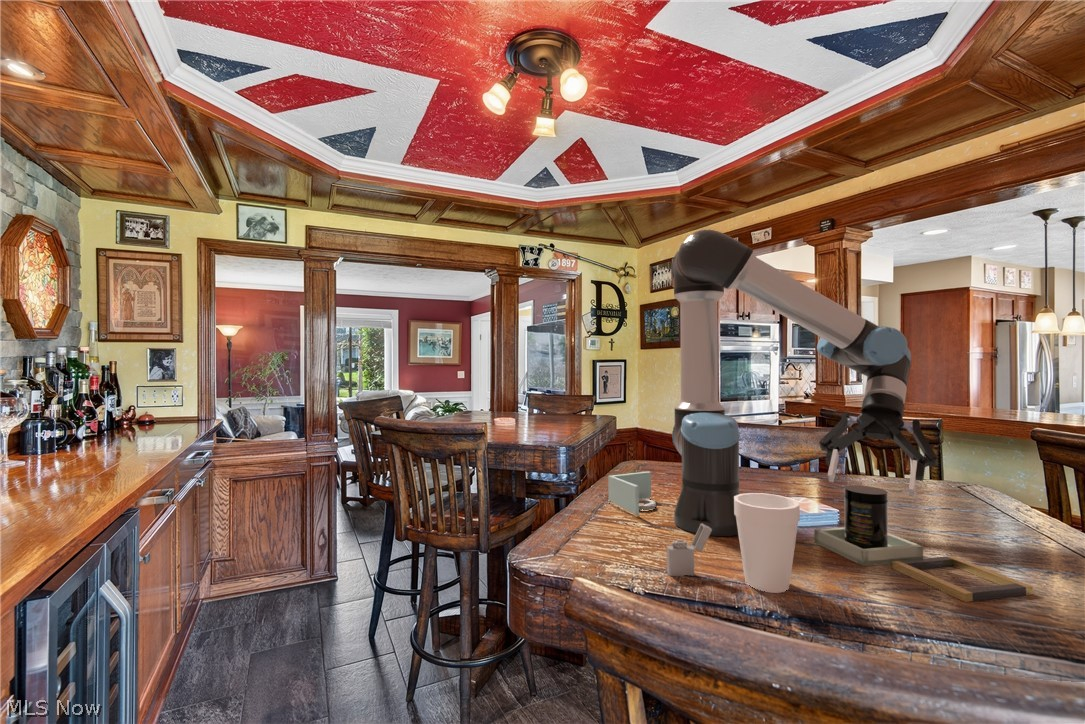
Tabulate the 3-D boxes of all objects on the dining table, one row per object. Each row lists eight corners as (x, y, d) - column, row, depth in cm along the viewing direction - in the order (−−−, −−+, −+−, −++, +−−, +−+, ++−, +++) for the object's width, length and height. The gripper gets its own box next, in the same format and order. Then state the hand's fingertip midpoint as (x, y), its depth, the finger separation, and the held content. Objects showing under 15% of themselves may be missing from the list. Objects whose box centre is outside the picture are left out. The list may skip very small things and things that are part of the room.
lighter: (669, 575, 81) (669, 526, 81) (666, 571, 82) (666, 523, 83) (712, 575, 81) (712, 526, 81) (708, 570, 83) (708, 522, 83)
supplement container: (891, 556, 86) (891, 496, 86) (846, 549, 89) (845, 491, 89) (884, 543, 92) (884, 487, 92) (842, 538, 95) (842, 483, 95)
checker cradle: (965, 602, 71) (965, 593, 71) (892, 568, 83) (892, 561, 83) (1032, 594, 73) (1032, 586, 73) (952, 562, 85) (952, 555, 85)
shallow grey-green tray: (863, 566, 84) (862, 551, 84) (814, 542, 95) (814, 529, 95) (923, 560, 86) (922, 546, 86) (868, 538, 97) (868, 525, 97)
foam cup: (724, 572, 82) (723, 493, 82) (777, 569, 83) (777, 492, 83) (753, 599, 72) (752, 510, 73) (813, 596, 73) (812, 508, 73)
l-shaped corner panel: (635, 519, 112) (635, 486, 112) (608, 506, 123) (608, 475, 123) (678, 512, 117) (678, 481, 117) (648, 500, 128) (648, 471, 128)
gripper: (957, 418, 103) (950, 509, 92) (822, 406, 119) (803, 482, 109) (957, 396, 98) (950, 489, 88) (817, 386, 115) (797, 464, 105)
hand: (869, 485), depth 99 cm, fingers open, 13 cm apart
